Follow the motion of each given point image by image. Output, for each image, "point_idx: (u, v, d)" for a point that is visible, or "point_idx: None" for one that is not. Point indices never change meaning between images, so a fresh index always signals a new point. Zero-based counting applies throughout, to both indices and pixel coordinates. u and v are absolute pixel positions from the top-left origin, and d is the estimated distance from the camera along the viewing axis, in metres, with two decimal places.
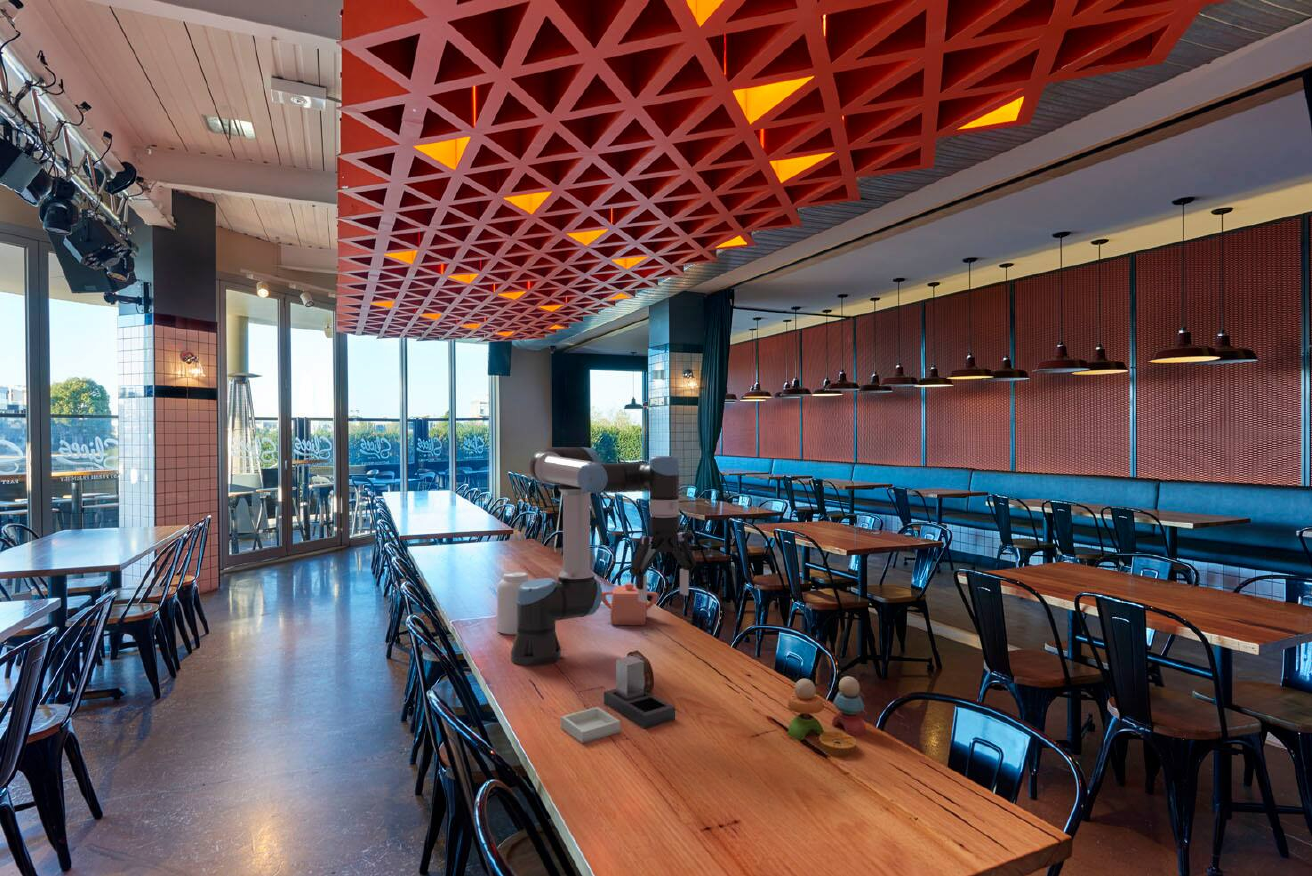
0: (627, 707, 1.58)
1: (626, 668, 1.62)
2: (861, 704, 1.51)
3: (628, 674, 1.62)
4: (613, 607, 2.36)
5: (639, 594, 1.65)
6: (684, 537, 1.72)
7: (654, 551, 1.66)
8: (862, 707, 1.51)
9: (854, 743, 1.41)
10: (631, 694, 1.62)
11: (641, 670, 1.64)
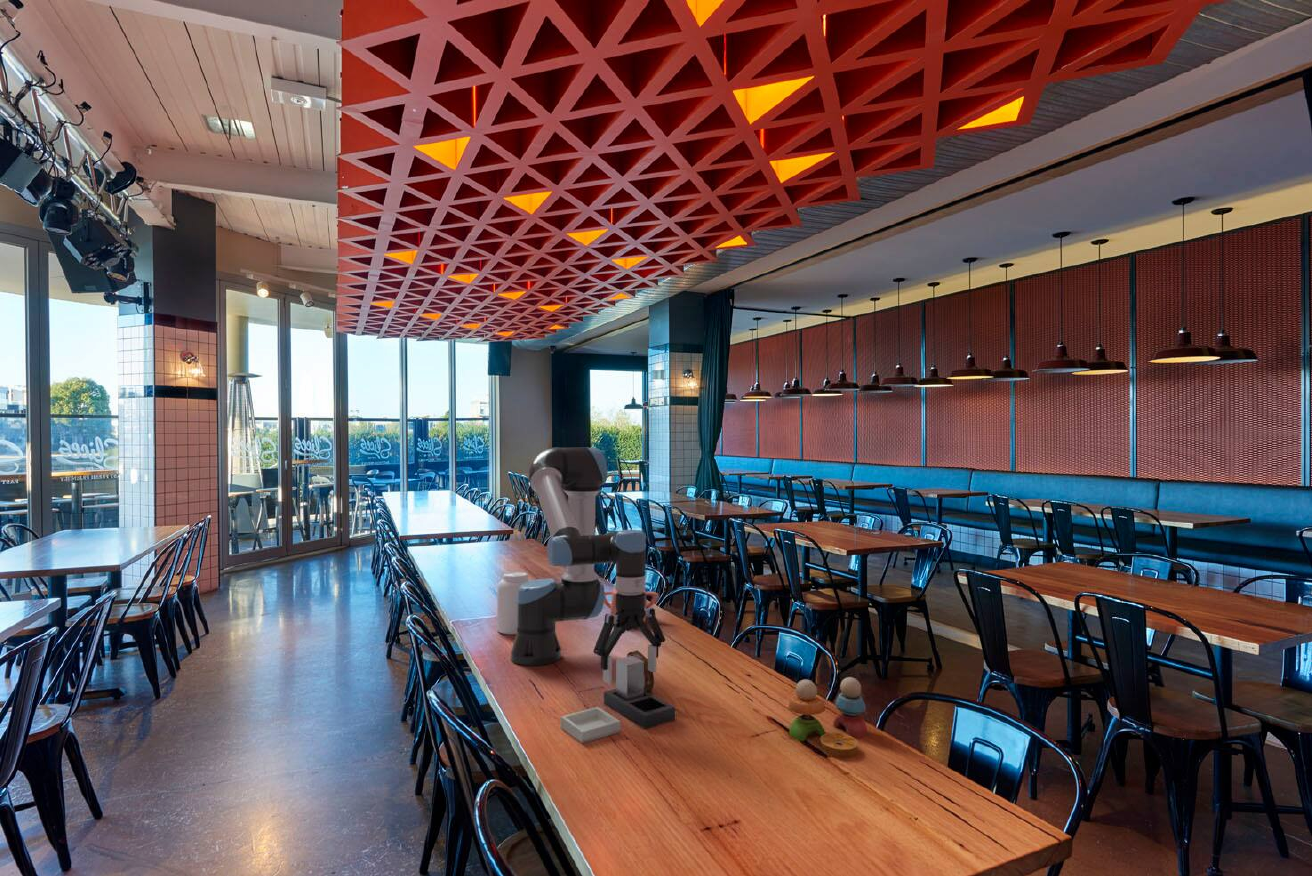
0: (627, 707, 1.58)
1: (626, 668, 1.62)
2: (863, 705, 1.51)
3: (628, 674, 1.62)
4: (613, 607, 2.36)
5: (604, 674, 1.61)
6: (652, 613, 1.68)
7: (619, 630, 1.62)
8: (864, 708, 1.50)
9: (855, 744, 1.41)
10: (631, 694, 1.62)
11: (641, 670, 1.64)
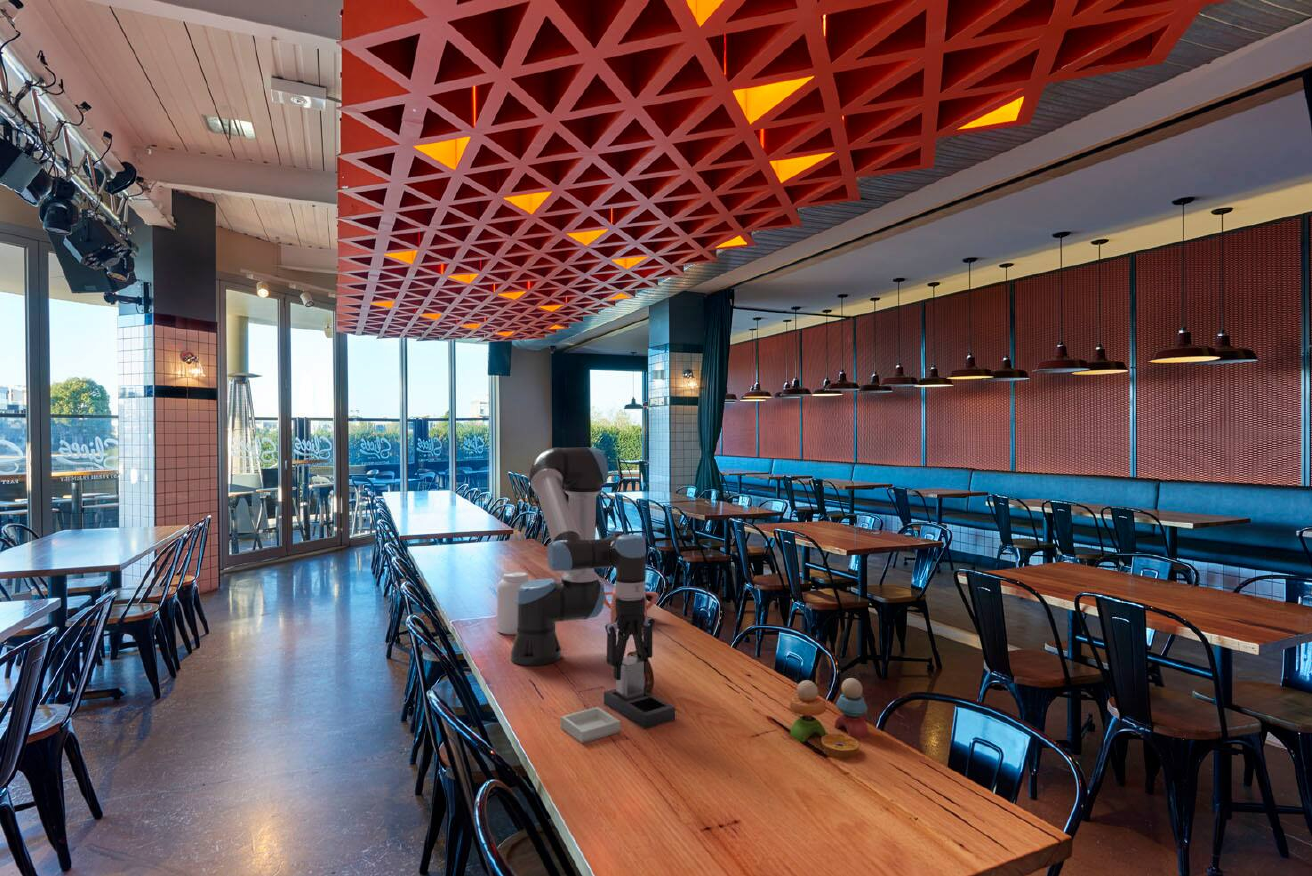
0: (627, 707, 1.58)
1: (626, 668, 1.62)
2: (864, 706, 1.50)
3: (628, 674, 1.62)
4: (613, 607, 2.36)
5: (617, 684, 1.64)
6: (650, 623, 1.68)
7: (623, 638, 1.63)
8: (865, 709, 1.50)
9: (856, 745, 1.40)
10: (631, 694, 1.62)
11: (641, 670, 1.64)
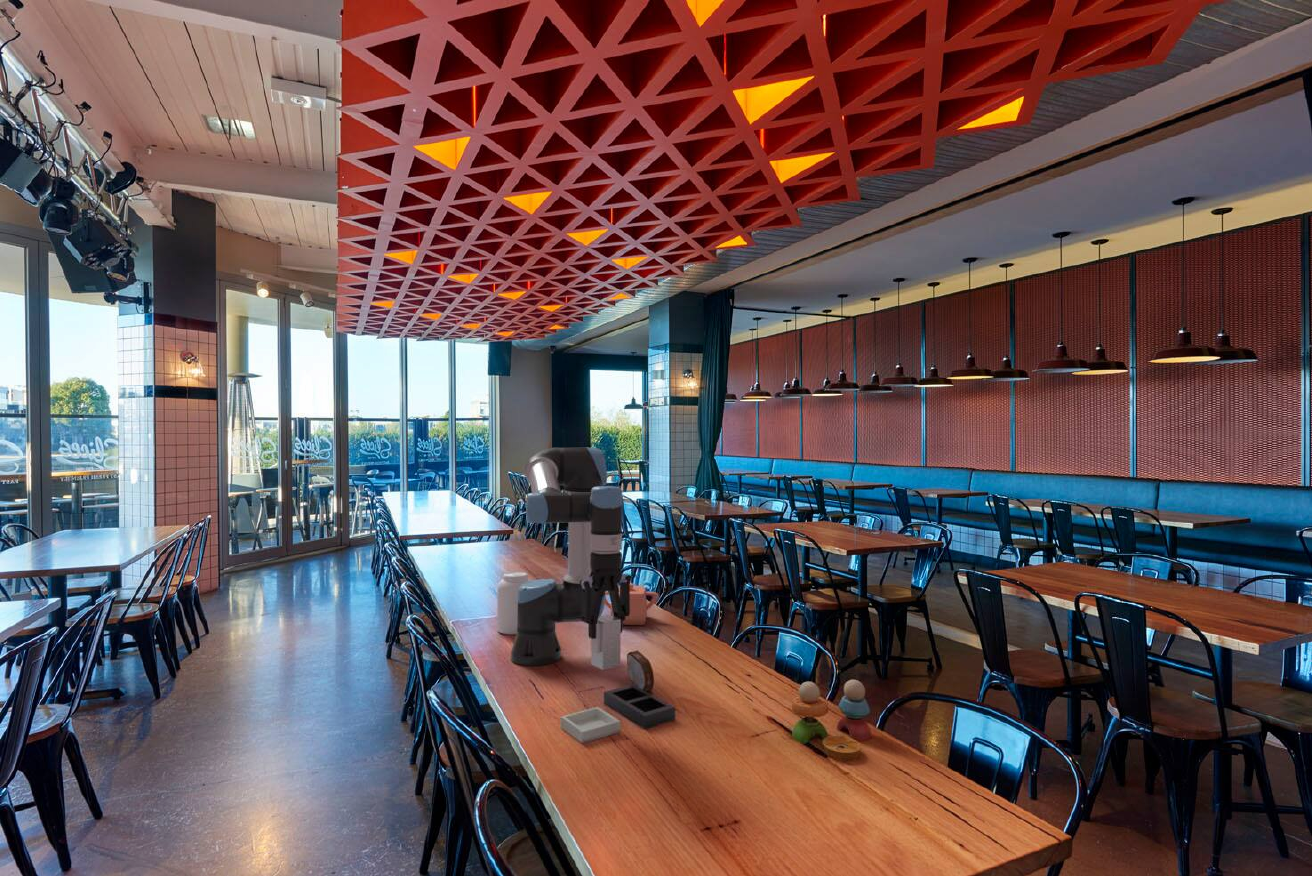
0: (627, 707, 1.58)
1: (602, 625, 1.52)
2: (866, 708, 1.49)
3: (604, 632, 1.52)
4: None
5: (592, 643, 1.54)
6: (627, 579, 1.58)
7: (599, 594, 1.53)
8: (867, 711, 1.49)
9: (858, 748, 1.39)
10: (607, 653, 1.53)
11: (618, 628, 1.55)
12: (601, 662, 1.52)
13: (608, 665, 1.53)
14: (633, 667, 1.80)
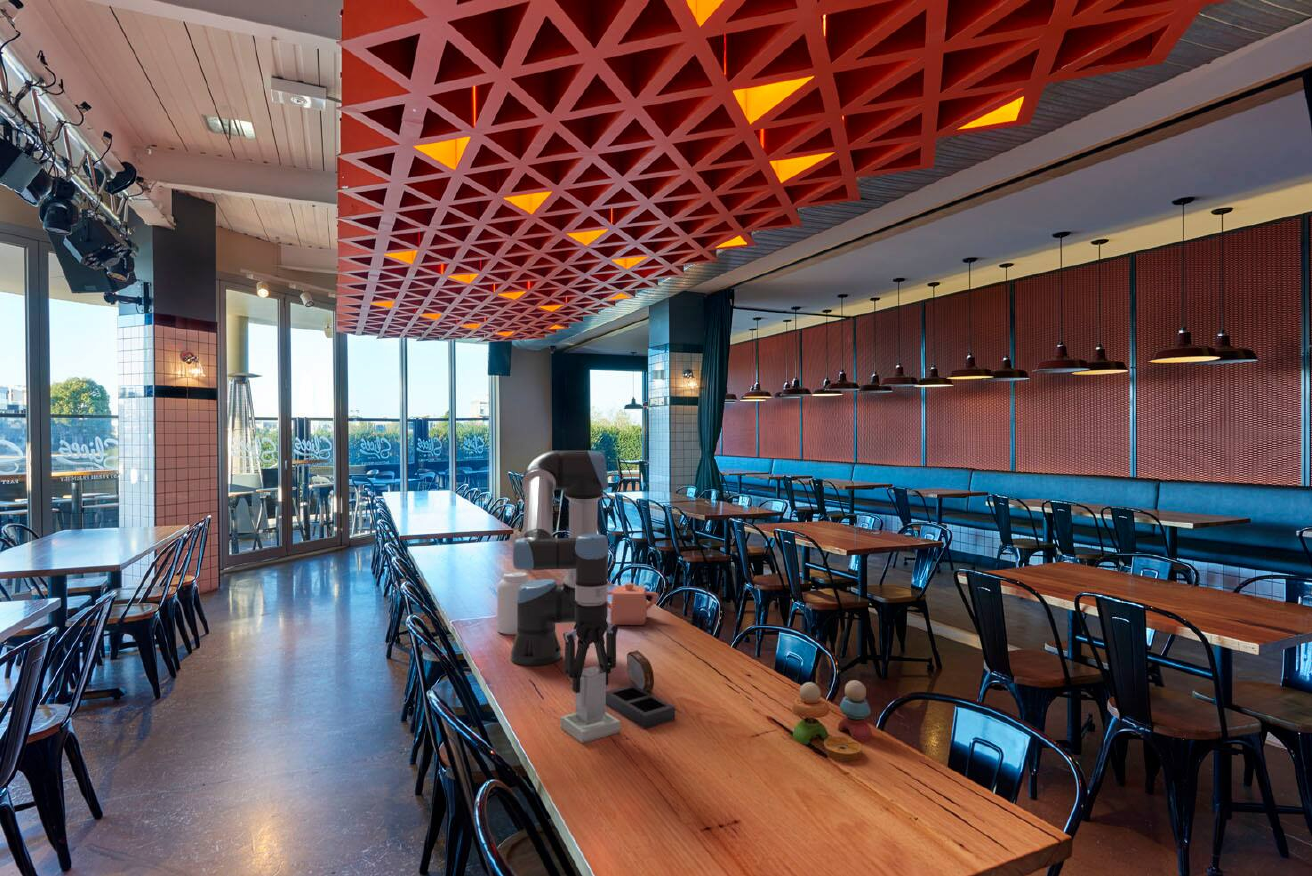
0: (627, 707, 1.58)
1: (586, 679, 1.48)
2: (867, 709, 1.49)
3: (588, 686, 1.48)
4: (613, 607, 2.36)
5: (576, 697, 1.50)
6: (613, 630, 1.54)
7: (583, 647, 1.49)
8: (868, 712, 1.48)
9: (859, 749, 1.39)
10: (591, 708, 1.49)
11: (603, 682, 1.50)
12: (585, 717, 1.48)
13: (592, 720, 1.49)
14: (633, 667, 1.80)
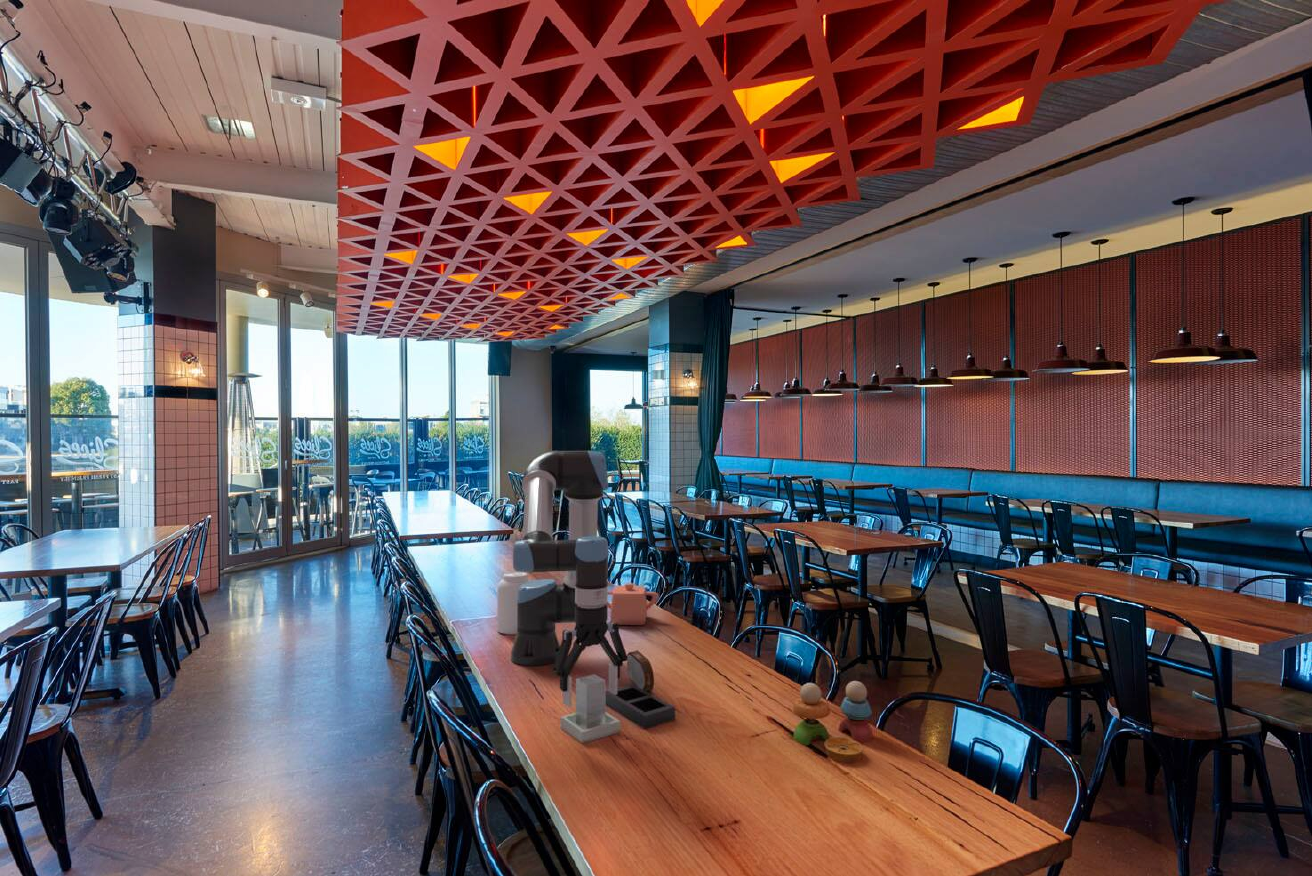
0: (627, 707, 1.58)
1: (586, 688, 1.48)
2: (868, 709, 1.48)
3: (588, 695, 1.48)
4: (613, 607, 2.36)
5: (564, 696, 1.48)
6: (615, 628, 1.54)
7: (579, 647, 1.48)
8: (869, 713, 1.48)
9: (860, 749, 1.38)
10: (591, 716, 1.49)
11: (603, 690, 1.51)
12: (585, 725, 1.48)
13: None
14: (633, 667, 1.80)
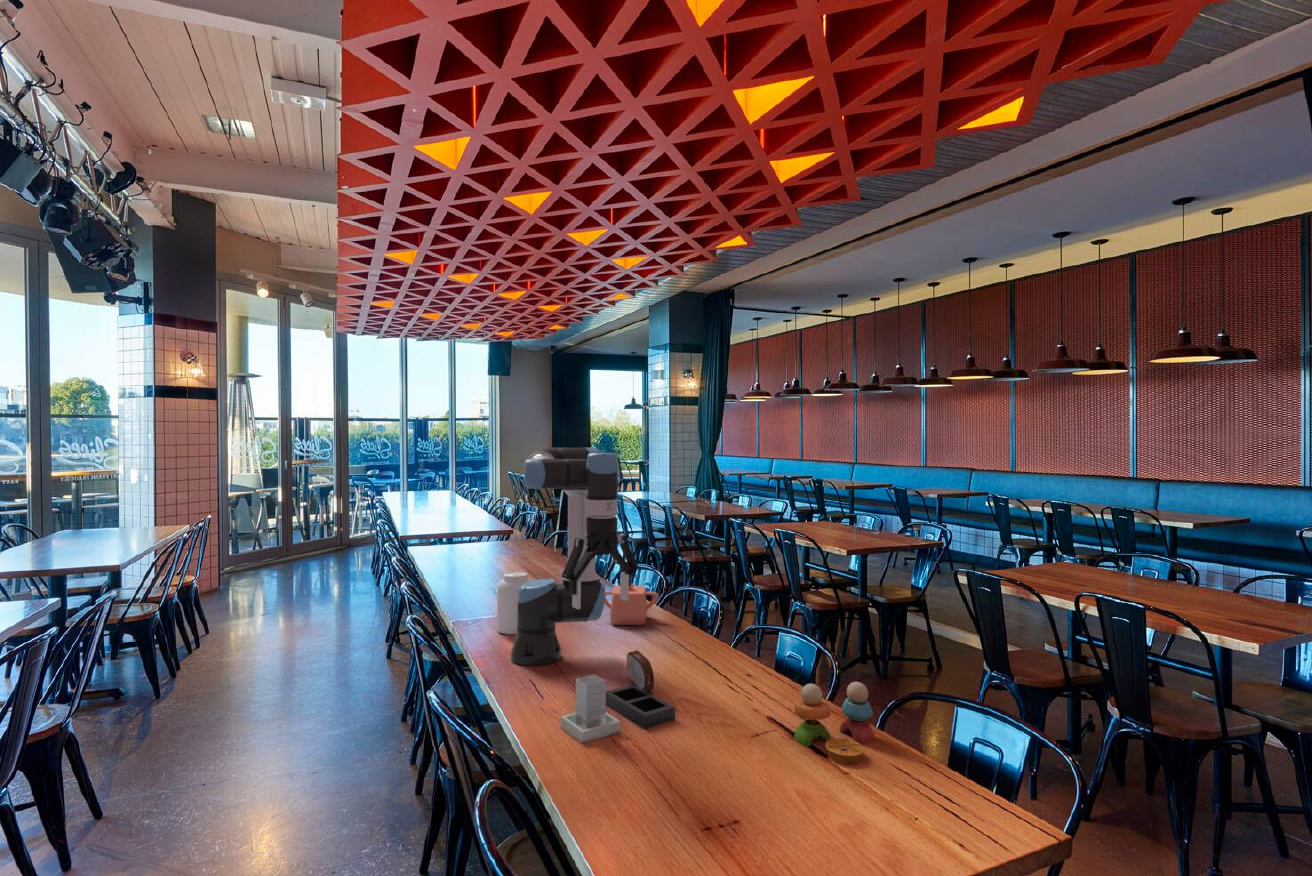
0: (627, 707, 1.58)
1: (586, 688, 1.48)
2: (869, 710, 1.48)
3: (588, 695, 1.48)
4: (613, 607, 2.36)
5: (573, 600, 1.55)
6: (624, 539, 1.61)
7: (589, 554, 1.56)
8: (870, 714, 1.47)
9: (861, 751, 1.38)
10: (591, 716, 1.49)
11: (603, 690, 1.51)
12: (585, 725, 1.48)
13: None
14: (633, 667, 1.80)
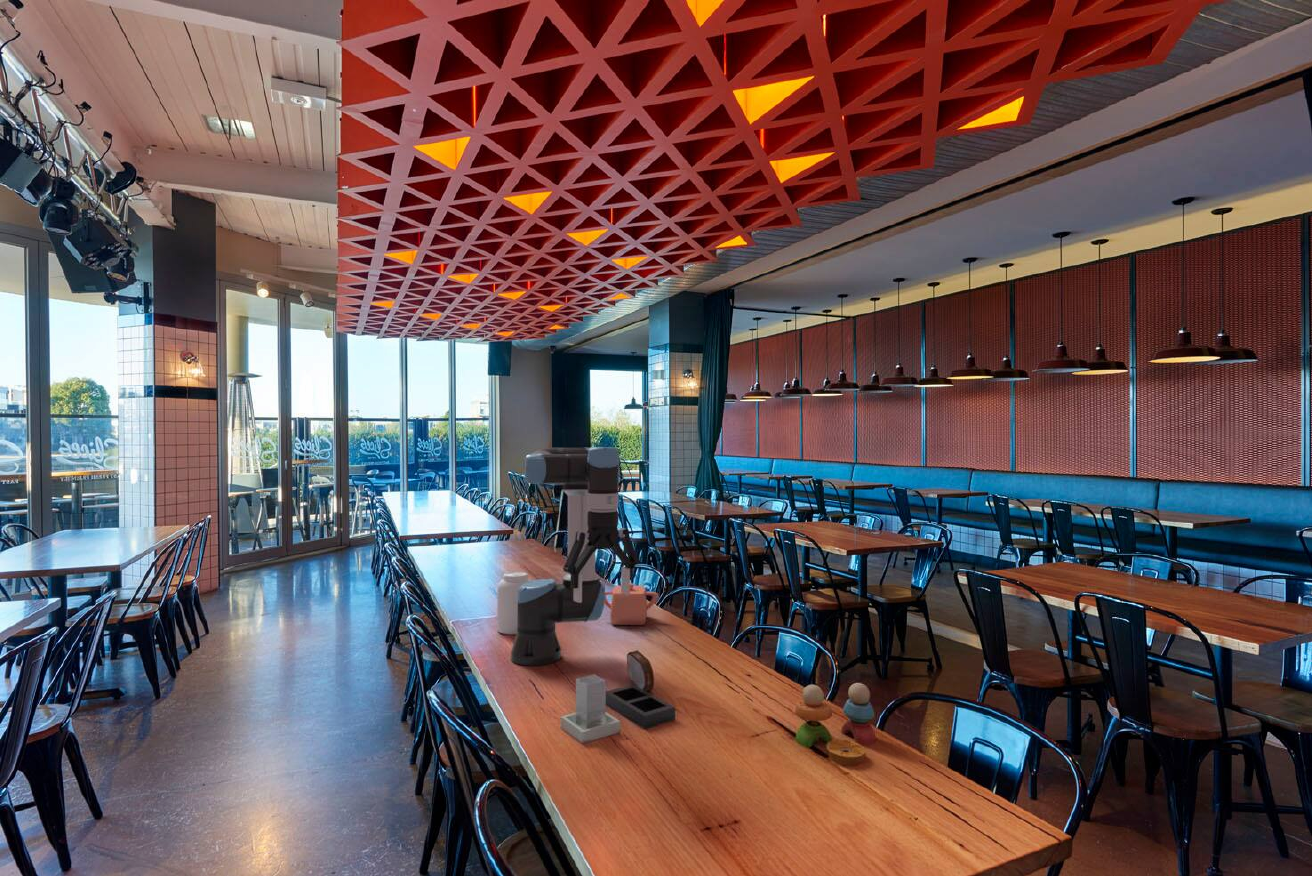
0: (627, 707, 1.58)
1: (586, 688, 1.48)
2: (871, 712, 1.47)
3: (588, 695, 1.48)
4: (613, 607, 2.36)
5: (574, 593, 1.56)
6: (625, 533, 1.62)
7: (590, 548, 1.56)
8: (872, 715, 1.47)
9: (862, 752, 1.37)
10: (591, 716, 1.49)
11: (603, 690, 1.51)
12: (585, 725, 1.48)
13: None
14: (633, 667, 1.80)
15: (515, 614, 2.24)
